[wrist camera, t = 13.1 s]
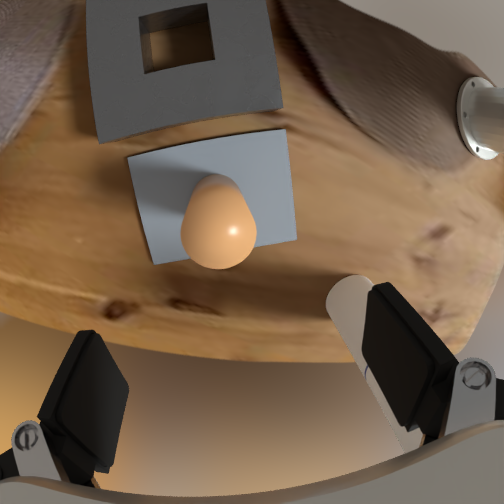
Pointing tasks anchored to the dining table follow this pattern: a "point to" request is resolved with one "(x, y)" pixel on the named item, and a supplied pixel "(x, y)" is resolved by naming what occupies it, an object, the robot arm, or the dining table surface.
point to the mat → (208, 163)
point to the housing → (182, 77)
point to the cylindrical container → (351, 329)
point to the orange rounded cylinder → (217, 224)
